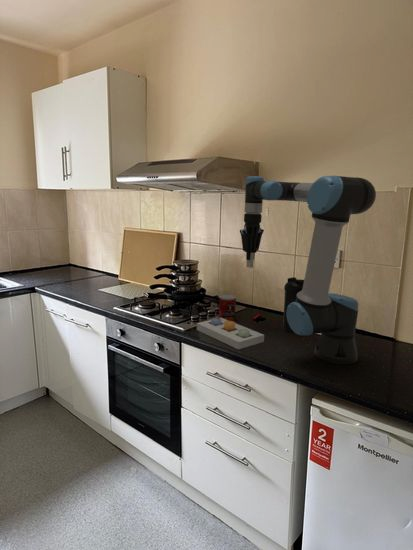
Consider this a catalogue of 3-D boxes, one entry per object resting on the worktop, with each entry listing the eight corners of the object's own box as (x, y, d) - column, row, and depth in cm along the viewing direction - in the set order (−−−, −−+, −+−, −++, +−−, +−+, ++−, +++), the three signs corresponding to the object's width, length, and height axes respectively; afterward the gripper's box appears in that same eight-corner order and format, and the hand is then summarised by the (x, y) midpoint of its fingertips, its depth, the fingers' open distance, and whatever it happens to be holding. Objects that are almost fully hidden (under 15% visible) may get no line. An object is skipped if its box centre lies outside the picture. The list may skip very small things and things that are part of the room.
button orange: (236, 331, 161) (237, 322, 160) (228, 333, 158) (229, 324, 157) (229, 328, 164) (230, 320, 163) (221, 330, 161) (222, 321, 161)
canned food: (221, 322, 178) (222, 299, 176) (216, 316, 186) (217, 294, 184) (237, 321, 180) (238, 298, 178) (231, 316, 188) (232, 294, 186)
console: (263, 341, 156) (264, 334, 155) (238, 349, 147) (238, 342, 147) (221, 324, 176) (221, 317, 175) (196, 329, 167) (196, 323, 166)
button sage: (251, 340, 155) (251, 331, 154) (243, 342, 152) (243, 333, 151) (243, 336, 158) (244, 328, 157) (235, 339, 155) (236, 330, 154)
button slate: (223, 328, 167) (223, 320, 167) (215, 330, 165) (215, 321, 164) (216, 325, 171) (216, 317, 170) (208, 327, 168) (209, 319, 167)
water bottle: (292, 335, 165) (297, 282, 160) (276, 327, 173) (280, 277, 169) (309, 331, 171) (314, 280, 166) (292, 324, 179) (296, 275, 174)
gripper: (257, 212, 174) (253, 264, 179) (236, 212, 166) (233, 267, 171) (269, 213, 168) (266, 267, 173) (248, 213, 160) (245, 269, 165)
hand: (249, 267), depth 172 cm, fingers closed
